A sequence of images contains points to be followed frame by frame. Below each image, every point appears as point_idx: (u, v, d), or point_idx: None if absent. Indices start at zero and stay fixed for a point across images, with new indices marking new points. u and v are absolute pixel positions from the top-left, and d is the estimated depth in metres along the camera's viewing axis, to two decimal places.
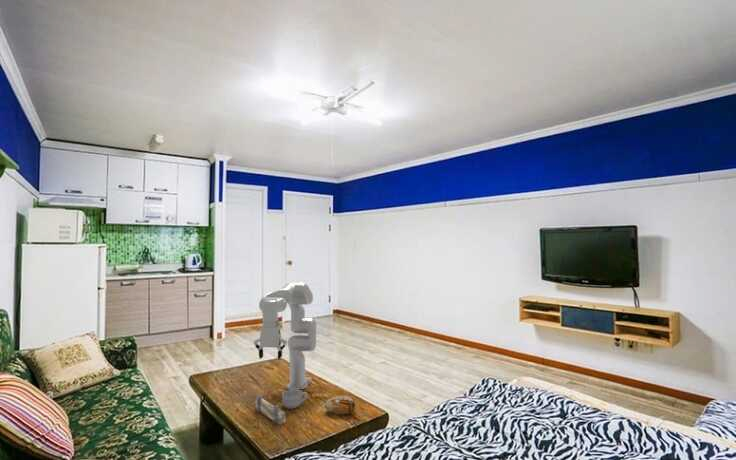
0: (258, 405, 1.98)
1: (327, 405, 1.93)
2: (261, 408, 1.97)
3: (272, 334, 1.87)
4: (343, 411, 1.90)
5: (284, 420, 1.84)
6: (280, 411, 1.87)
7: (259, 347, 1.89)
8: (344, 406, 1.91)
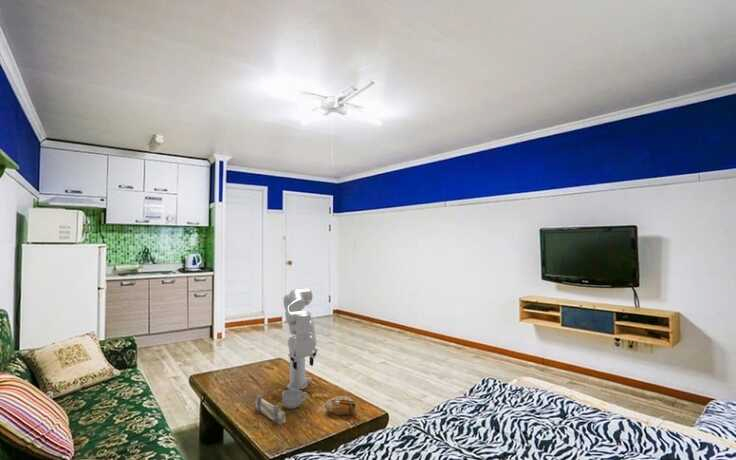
0: (258, 405, 1.98)
1: (327, 405, 1.93)
2: (261, 408, 1.97)
3: (308, 344, 2.07)
4: (343, 411, 1.90)
5: (284, 420, 1.84)
6: (280, 411, 1.87)
7: (295, 359, 2.03)
8: (344, 406, 1.90)
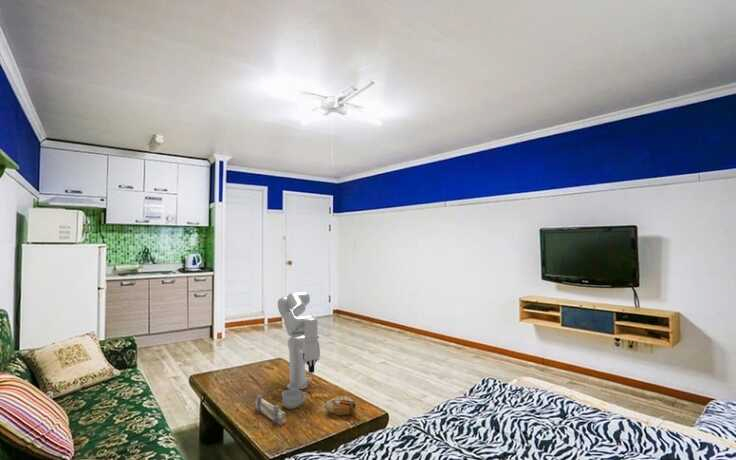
0: (258, 405, 1.98)
1: (327, 406, 1.92)
2: (261, 408, 1.97)
3: (316, 347, 2.12)
4: (344, 412, 1.89)
5: (284, 420, 1.84)
6: (280, 411, 1.87)
7: (311, 363, 2.10)
8: (345, 407, 1.90)
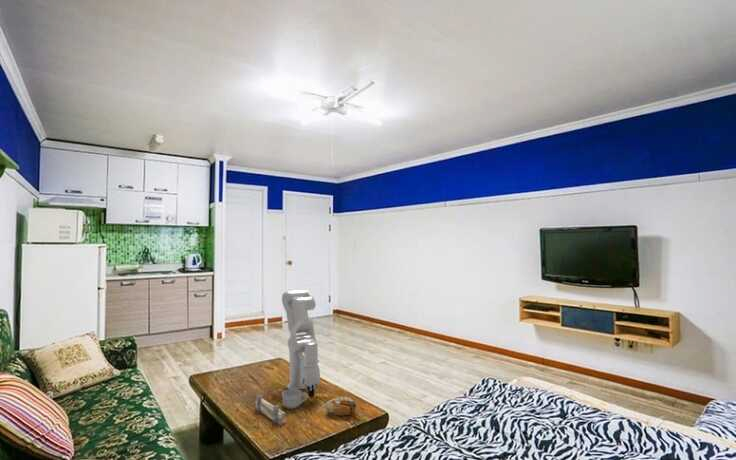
0: (258, 405, 1.98)
1: (328, 406, 1.92)
2: (261, 408, 1.97)
3: (316, 372, 2.11)
4: (344, 412, 1.89)
5: (284, 420, 1.84)
6: (280, 411, 1.87)
7: (311, 387, 2.10)
8: (345, 407, 1.90)
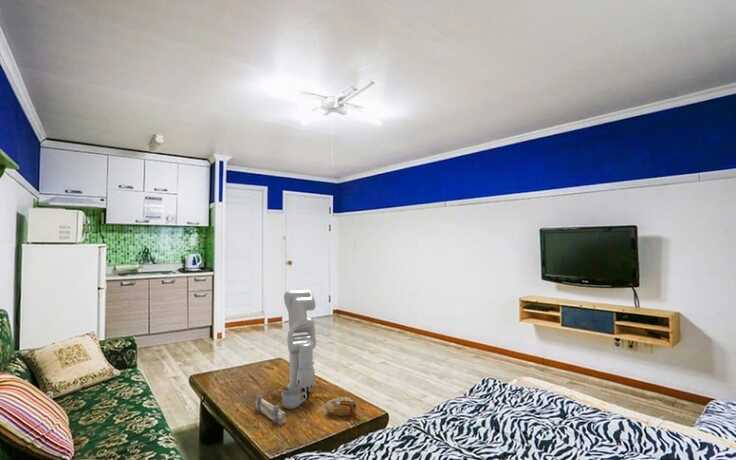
0: (258, 405, 1.98)
1: (328, 407, 1.91)
2: (261, 408, 1.97)
3: (311, 373, 2.09)
4: (344, 412, 1.88)
5: (284, 420, 1.84)
6: (280, 411, 1.87)
7: (306, 389, 2.07)
8: (345, 407, 1.89)
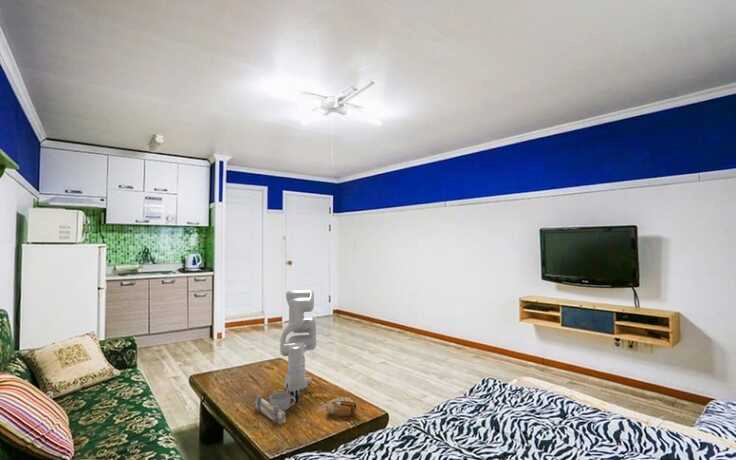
0: (258, 405, 1.98)
1: (328, 407, 1.90)
2: (261, 408, 1.97)
3: (300, 377, 2.04)
4: (345, 413, 1.88)
5: (284, 420, 1.84)
6: (280, 411, 1.87)
7: (295, 393, 2.02)
8: (346, 408, 1.89)
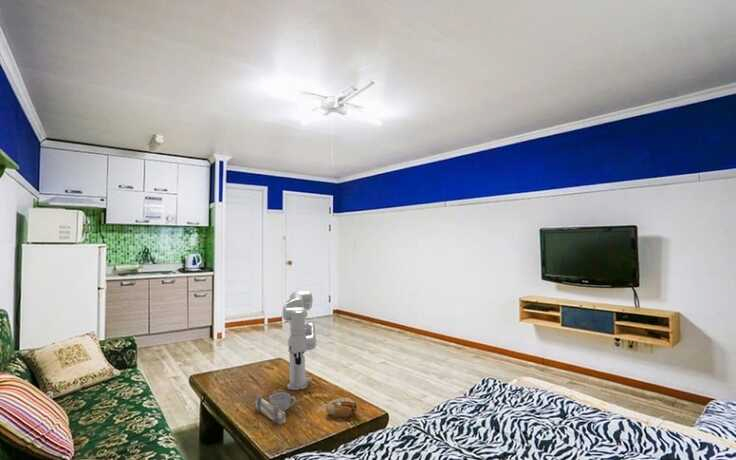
0: (258, 405, 1.98)
1: (329, 408, 1.90)
2: (261, 408, 1.97)
3: (303, 340, 2.12)
4: (346, 413, 1.87)
5: (284, 420, 1.84)
6: (280, 411, 1.87)
7: (298, 355, 2.11)
8: (347, 408, 1.88)
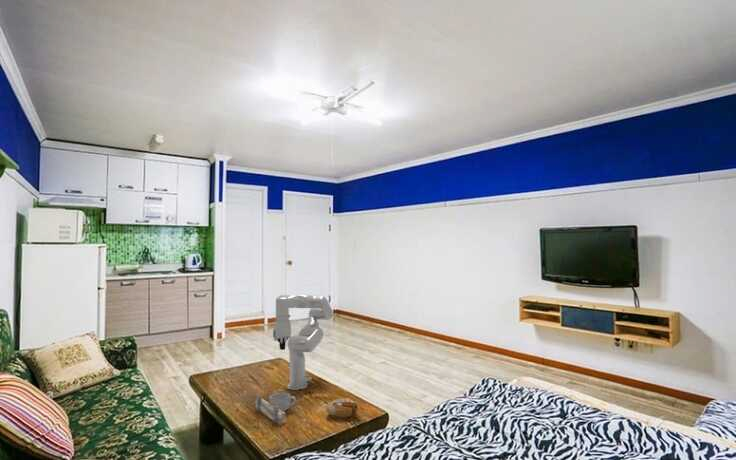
0: (258, 405, 1.98)
1: (329, 409, 1.89)
2: (261, 408, 1.97)
3: (287, 325, 2.20)
4: (347, 414, 1.87)
5: (284, 420, 1.84)
6: (280, 411, 1.87)
7: (282, 340, 2.18)
8: (347, 409, 1.88)
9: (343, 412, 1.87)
